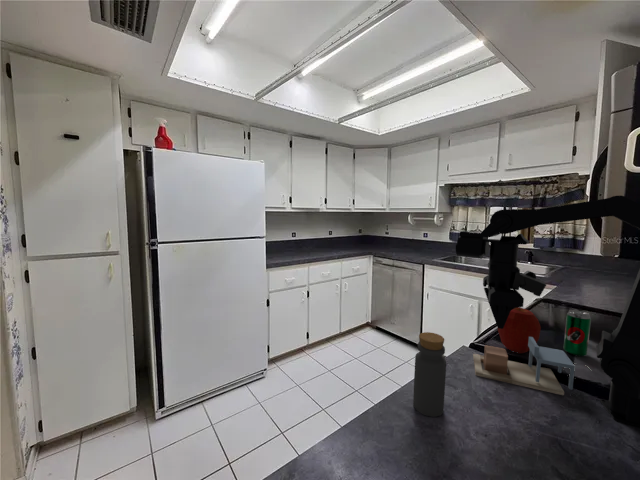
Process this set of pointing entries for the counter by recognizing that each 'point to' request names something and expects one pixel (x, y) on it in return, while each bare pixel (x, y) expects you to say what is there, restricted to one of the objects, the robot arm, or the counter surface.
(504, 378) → the board
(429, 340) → the bottle
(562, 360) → the light blue toy chair
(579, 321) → the soda can
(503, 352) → the block
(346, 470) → the counter surface
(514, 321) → the apple
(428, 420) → the counter surface
